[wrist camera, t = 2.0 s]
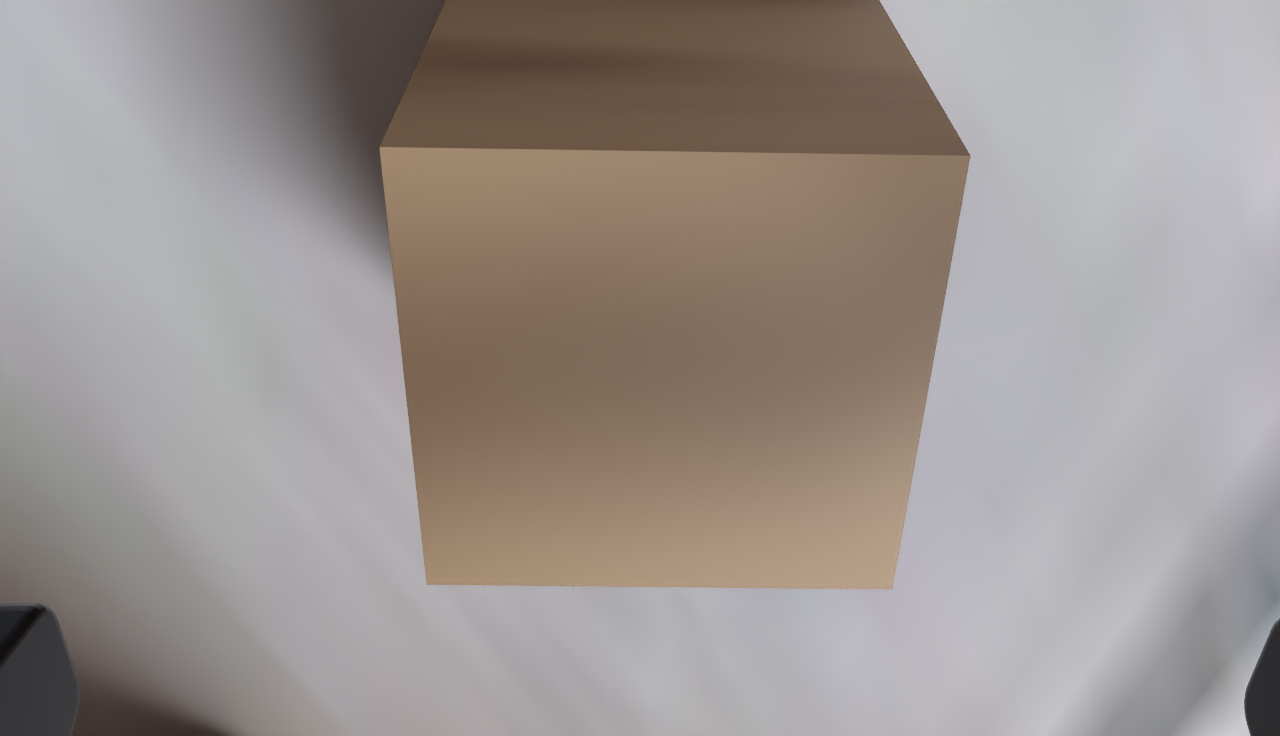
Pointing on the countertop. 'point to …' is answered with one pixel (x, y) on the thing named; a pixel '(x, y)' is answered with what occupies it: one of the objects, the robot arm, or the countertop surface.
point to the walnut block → (668, 289)
